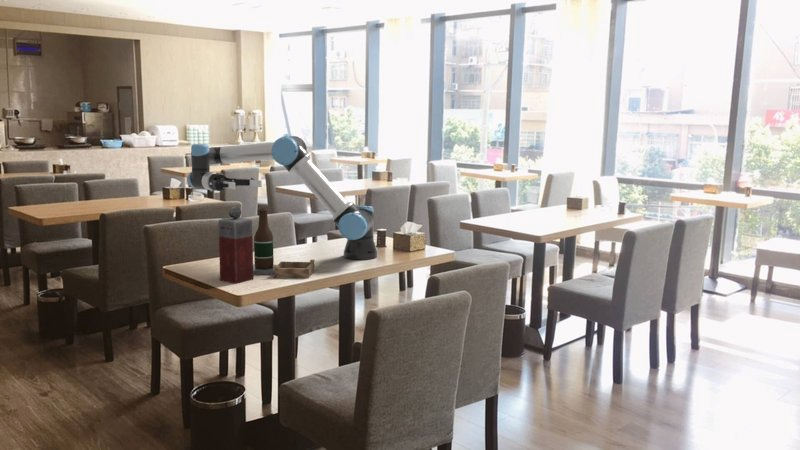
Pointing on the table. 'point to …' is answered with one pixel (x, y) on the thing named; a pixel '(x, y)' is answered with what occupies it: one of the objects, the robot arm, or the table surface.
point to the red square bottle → (235, 248)
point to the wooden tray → (294, 269)
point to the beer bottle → (263, 243)
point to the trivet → (263, 271)
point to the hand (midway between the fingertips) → (248, 184)
